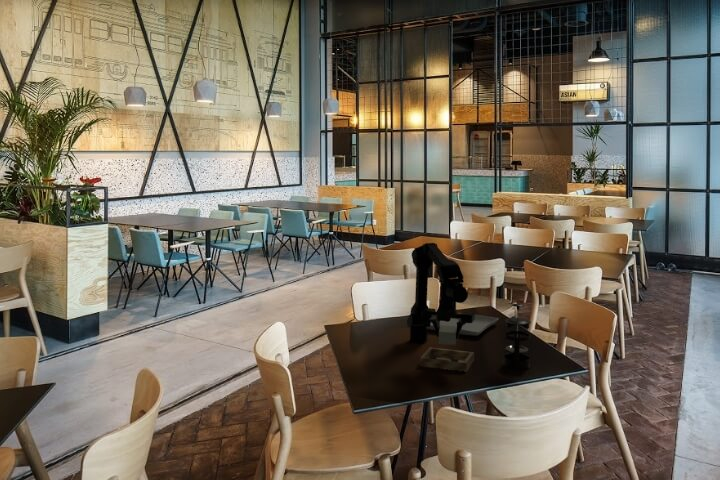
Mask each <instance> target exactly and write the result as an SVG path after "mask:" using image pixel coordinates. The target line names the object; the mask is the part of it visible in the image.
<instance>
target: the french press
mask: <svg viewBox="0 0 720 480" xmlns="http://www.w3.org/2000/svg"><path fill="white" fill-rule="evenodd" d="M511 306H513V307H515V308H516V310H517V313H516V314H517V316H516V317H507V318H505V319H504V322H505V327H506V328H512V327H513V326H516V329H514V330H507V331H505V332H504V341H503V342H504V344H503V345H504V346H503V347H504V349H503V363H502V365H503V366H504V367H503V368H506V369H509V370H513V371H525V370H529V369H530V367H531V365H530V356H531V355H530V354H531V353H530V352H531V349H530V348H531V334H530V333H528V332H527V331H523V330H520V329H519V326H521V327H523V329H525V330H529V328H530V324H531V322H532V321H531V320H529V319H528V318H523V317H519V314H520V313H519V311H520V308H523V307H525V305H524V304H523V303H512V304H511ZM511 335H514V336H511ZM521 335H522V336H524V337H521ZM506 339H507V340H509V341H514V345H507V346H506ZM526 341H528V347H526V346H523V345H521V344H520V343H521V342H526ZM506 352H507V353H506ZM527 354H528V355H527Z"/></svg>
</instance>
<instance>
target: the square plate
mask: <svg viewBox="0 0 720 480" xmlns="http://www.w3.org/2000/svg"><path fill="white" fill-rule="evenodd" d="M462 313H463V312H457V314H462ZM499 319H500V318H499V317H494V316H486V315H480V314H475V320H474V321H473V322H472V323H466V324H465V325H463V326H462V328H461V331H460V334H459V335H463V336H477V337H478V336H479V335H481V333H483V332H484V331H486V329H488V328H489V327H491V326H492V325H494V324H495V323H497V322H498V320H499ZM458 321H459V320H458V319H454V318H451V319H450V321H449V322H446V321H440V326H441V325H447V326H457V322H458ZM427 330H431V331H435V332H436V330H435V328H434V325H433V324H432V322H431V324H430V327H427Z"/></svg>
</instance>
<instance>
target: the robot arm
mask: <svg viewBox="0 0 720 480" xmlns="http://www.w3.org/2000/svg"><path fill="white" fill-rule="evenodd" d="M411 260H412V263H413V266H414V267H415V268H416V270H415V271H416V272H415V273H416V274H415V293H414V294H415V296H414V297H415V298H414V303H413V305H412V307H411V308H410V314H409V315H408V318H407V320H406V324H407V325H406V326H407V327H408V328H409V329H410V331H409V333H410V335H409V337H410V339H408V342H409V343H418V344H425V343H426V341H428V340H429V329H427V327H430V324H431V322H432V324H433V325H434V328H435V330H436V331H435V330H434V331H435V333H436V336H437V338H439V329H440V321H446V322H449V321H450V319H451V318H454V319H458V320H459V321H458V322H457V330H456V340H458V339H459V336H460V335H461V334H460V331H461V328H462V326H463V325H465V324H466V323H472V322H473V321H474V320H475V315H476V314H475V312H474V311H463V312H461V313H462V314H457V313H458V312H457V303H458V304H463V303H465V302H466V300H467V299H468V297H469V292H468V289H466V288H465V287H464V286H463V285H464V275H463V272H462V270H461V267H460V265H459V263H457V262H456V261H455V260H453V259H451V258H448V257H447V256H446V254H444V253H443V252H442V250H441V249H440V248H439V247H438V244H437V243H435V242H426V243H423V244H422V245H420V246H417V247H416V248H414V249H413V250H412V251H411ZM433 264H434V265H435V266H436V273H437V276H438V278H439V281H438V283H440V293H439V294H440V295H439V297H440V300H439V305H438V308H437V309H436V308H430V307H429V305H428V284H429V283H428V279H429V270H430V268H431V266H432V265H433Z"/></svg>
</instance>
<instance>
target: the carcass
mask: <svg viewBox="0 0 720 480" xmlns="http://www.w3.org/2000/svg"><path fill="white" fill-rule="evenodd" d="M419 360H420V362H419V363H420V364H419V365H420V367H425V368H432V369H439V368H440V370H447V369H448V370H449V371H455V370H457V371H456V372H462V371H464V373H467V372H468V371H469V369H470V367H471V366H472V364H473V363H474V361H475V352H473V351H465V350H456V349H449V348H448V349H447V348H440V347H429V348H428V349H427V350H426V351H425V352H424V353H423V354H422V355H421V357H420V359H419Z"/></svg>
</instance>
